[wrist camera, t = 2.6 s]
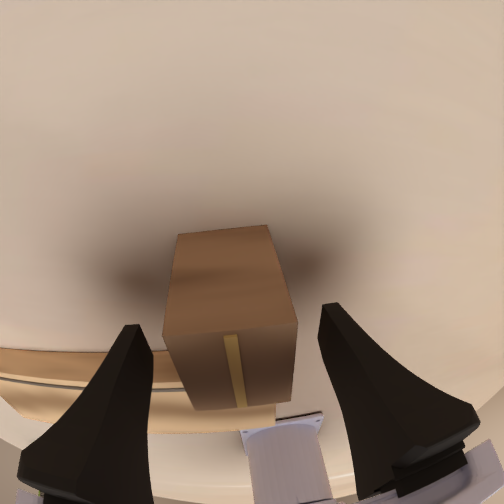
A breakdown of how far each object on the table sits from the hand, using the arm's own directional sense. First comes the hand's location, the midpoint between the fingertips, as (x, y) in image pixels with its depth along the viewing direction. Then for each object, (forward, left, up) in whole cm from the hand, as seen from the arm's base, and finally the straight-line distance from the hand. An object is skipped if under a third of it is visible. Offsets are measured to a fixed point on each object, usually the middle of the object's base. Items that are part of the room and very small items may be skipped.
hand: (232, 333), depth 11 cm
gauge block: (0, 0, -4) cm, 4 cm away
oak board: (-10, +10, -4) cm, 14 cm away
